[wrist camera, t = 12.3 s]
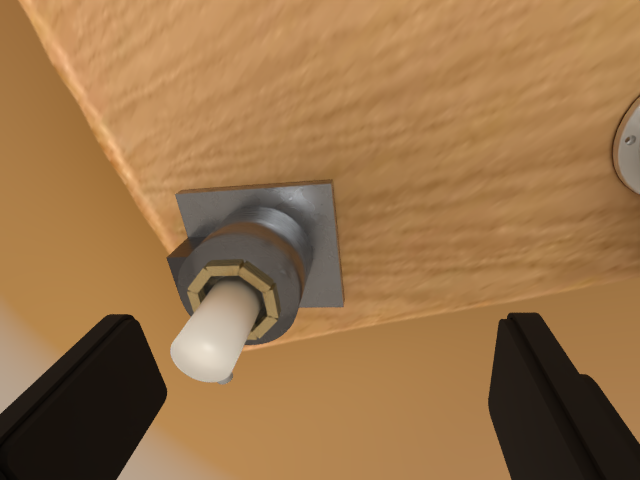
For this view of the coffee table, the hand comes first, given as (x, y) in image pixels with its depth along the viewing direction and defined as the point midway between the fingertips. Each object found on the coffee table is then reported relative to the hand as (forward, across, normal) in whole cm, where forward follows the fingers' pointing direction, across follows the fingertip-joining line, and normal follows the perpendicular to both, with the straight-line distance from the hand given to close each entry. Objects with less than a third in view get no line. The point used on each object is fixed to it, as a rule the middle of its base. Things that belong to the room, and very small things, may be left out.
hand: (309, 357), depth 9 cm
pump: (+20, +12, +12) cm, 26 cm away
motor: (+30, +12, +12) cm, 35 cm away
